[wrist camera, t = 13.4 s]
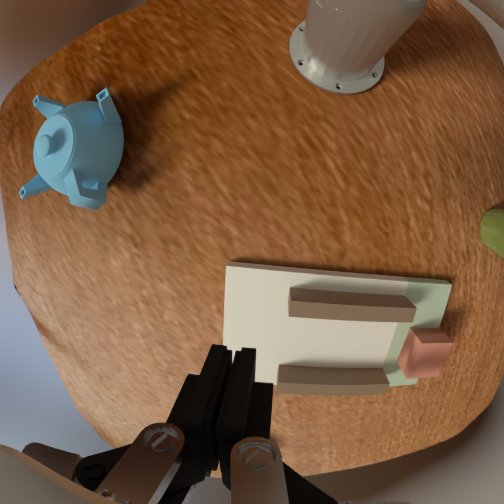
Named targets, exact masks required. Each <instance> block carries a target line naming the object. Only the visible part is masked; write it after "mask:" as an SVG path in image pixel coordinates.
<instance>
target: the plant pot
mask: <svg viewBox="0 0 504 504" xmlns="http://www.w3.org/2000/svg"><path fill="white" fill-rule="evenodd" d="M480 228H481V230H480V238H481V240H482V242H483V244H484V245H485V246H487V247H488V248H490V249H491V250H492V251H494V252H495V253H496V254H498V255H499V256H500V257H502V258H503V259H504V209H489V210H487V211H486V212H485V214H484V215H483V217H482V219H481V223H480Z"/></svg>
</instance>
